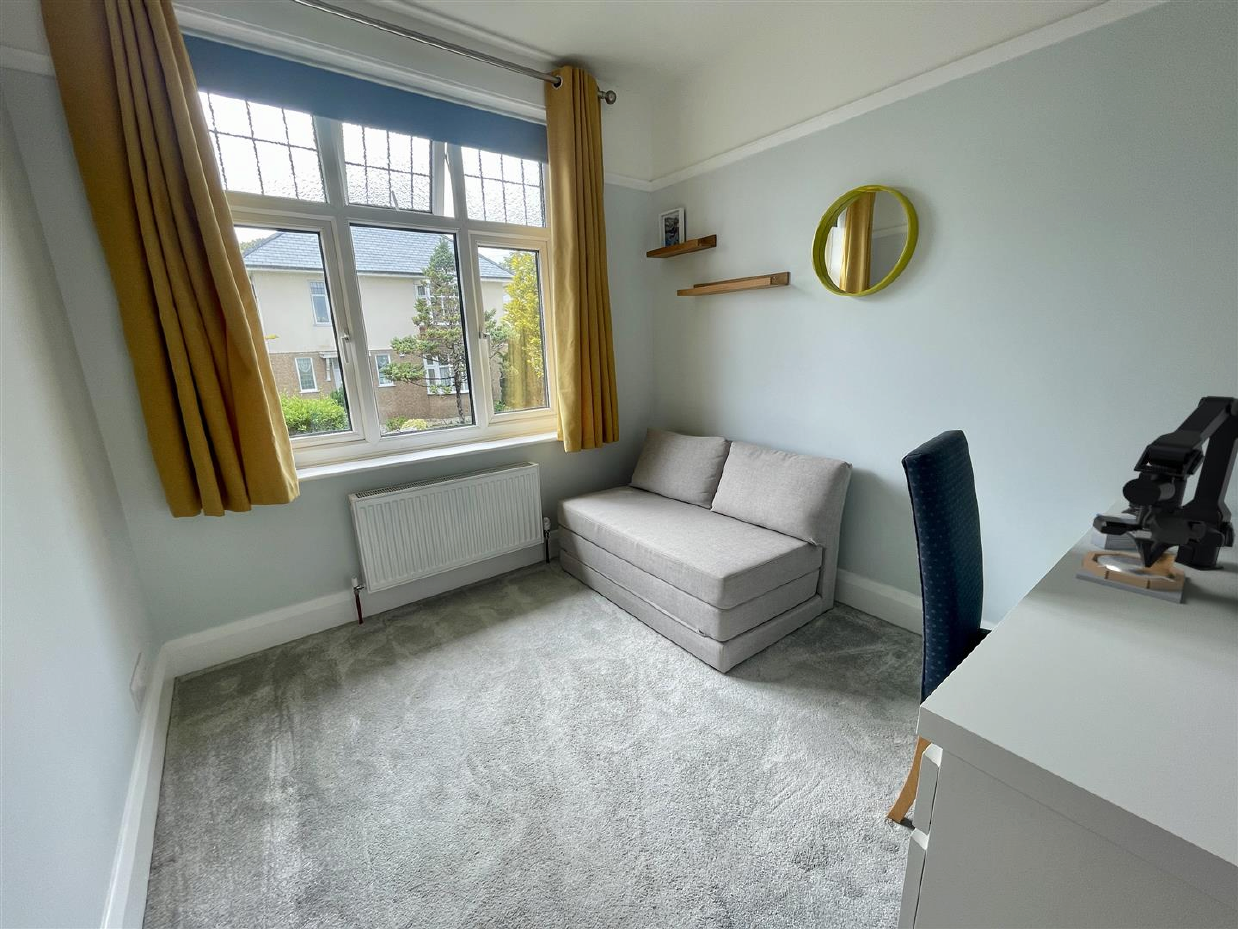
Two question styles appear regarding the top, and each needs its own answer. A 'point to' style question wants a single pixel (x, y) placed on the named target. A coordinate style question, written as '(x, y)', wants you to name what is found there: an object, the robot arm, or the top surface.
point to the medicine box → (1114, 540)
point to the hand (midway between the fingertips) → (1146, 567)
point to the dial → (1139, 565)
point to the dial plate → (1132, 578)
